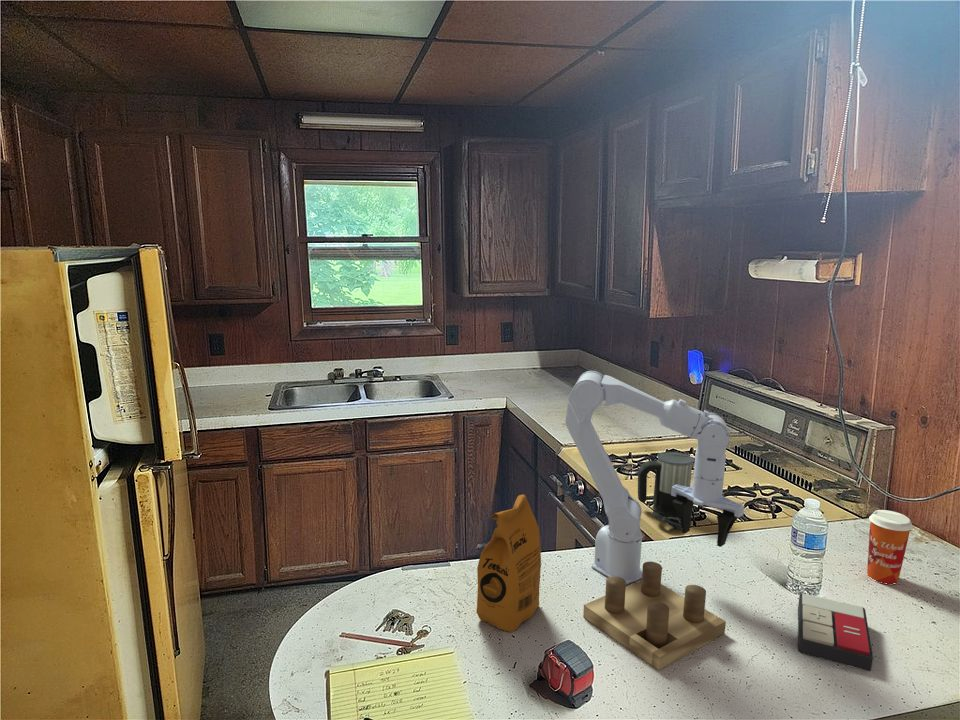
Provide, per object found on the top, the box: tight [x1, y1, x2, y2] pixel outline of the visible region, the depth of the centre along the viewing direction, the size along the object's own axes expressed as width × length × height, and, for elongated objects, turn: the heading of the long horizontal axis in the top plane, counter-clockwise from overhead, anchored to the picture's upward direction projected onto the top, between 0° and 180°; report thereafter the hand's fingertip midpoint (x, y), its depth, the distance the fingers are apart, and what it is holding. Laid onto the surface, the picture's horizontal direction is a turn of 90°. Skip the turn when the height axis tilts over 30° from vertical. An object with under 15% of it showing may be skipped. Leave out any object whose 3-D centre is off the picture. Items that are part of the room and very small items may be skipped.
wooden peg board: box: [582, 561, 727, 671], centre depth 117 cm, size 18×18×8 cm
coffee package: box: [475, 494, 542, 633], centre depth 119 cm, size 10×12×22 cm
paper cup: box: [866, 509, 914, 584], centre depth 133 cm, size 8×8×14 cm
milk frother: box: [637, 451, 695, 529], centre depth 161 cm, size 14×16×15 cm
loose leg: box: [646, 602, 669, 649], centre depth 110 cm, size 4×4×8 cm
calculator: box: [797, 593, 874, 672], centre depth 114 cm, size 11×4×15 cm
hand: (703, 538), depth 129 cm, fingers open, 7 cm apart
